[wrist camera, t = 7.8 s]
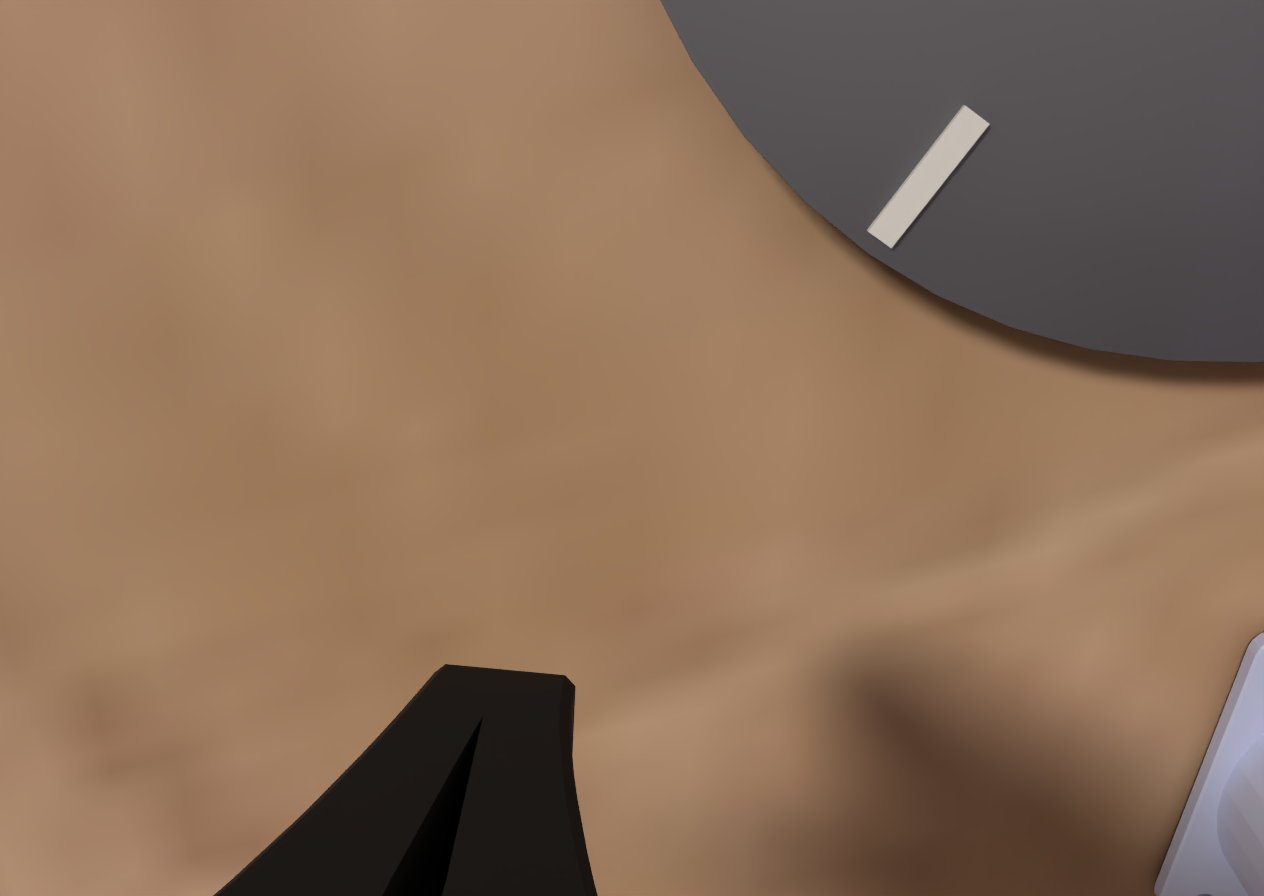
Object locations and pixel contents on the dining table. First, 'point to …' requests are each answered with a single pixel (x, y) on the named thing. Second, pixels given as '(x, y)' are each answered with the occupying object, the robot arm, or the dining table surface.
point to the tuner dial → (1022, 152)
